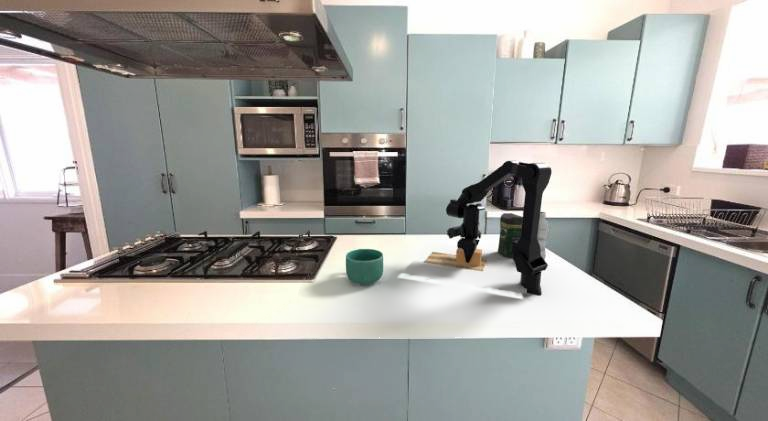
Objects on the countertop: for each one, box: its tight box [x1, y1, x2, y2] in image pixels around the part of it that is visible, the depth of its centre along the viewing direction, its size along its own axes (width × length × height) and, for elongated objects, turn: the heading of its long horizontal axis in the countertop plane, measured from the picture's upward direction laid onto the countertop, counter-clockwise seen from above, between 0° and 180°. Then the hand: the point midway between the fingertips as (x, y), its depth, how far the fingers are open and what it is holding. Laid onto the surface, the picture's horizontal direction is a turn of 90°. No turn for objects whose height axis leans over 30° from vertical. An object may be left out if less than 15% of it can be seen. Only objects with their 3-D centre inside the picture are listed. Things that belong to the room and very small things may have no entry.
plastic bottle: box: [537, 211, 550, 261], centre depth 121 cm, size 6×7×20 cm
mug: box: [345, 248, 384, 286], centre depth 104 cm, size 17×13×10 cm
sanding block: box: [455, 247, 483, 266], centre depth 116 cm, size 5×9×5 cm, turn 66°
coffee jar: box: [497, 212, 523, 259], centre depth 125 cm, size 10×8×19 cm
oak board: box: [423, 251, 488, 272], centre depth 119 cm, size 14×22×2 cm, turn 66°
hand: (468, 260), depth 117 cm, fingers closed on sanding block, 5 cm apart
